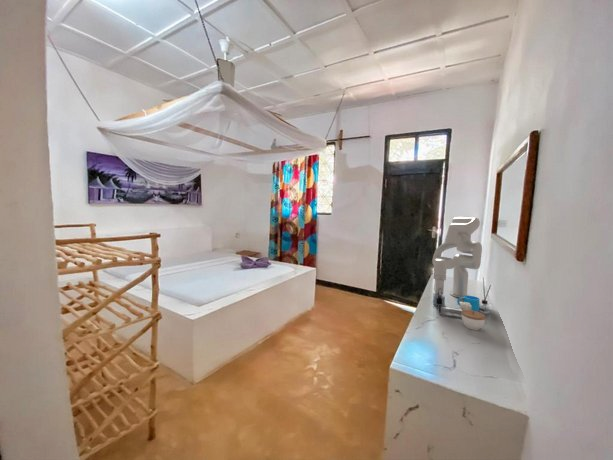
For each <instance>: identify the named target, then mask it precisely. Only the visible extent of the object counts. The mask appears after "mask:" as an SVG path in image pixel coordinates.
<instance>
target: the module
mask: <svg viewBox="0 0 613 460" xmlns="http://www.w3.org/2000/svg"><path fill="white" fill-rule="evenodd" d="M432 293H433V294H432V302H433V306H434V305H435V306H438V305H440V306H443V307H446V306H445V305H446V301H445V300H446V297H445V294H444V293H443V295H442V305H441V304H437V294H435V292H432ZM438 296H439V295H438Z"/></svg>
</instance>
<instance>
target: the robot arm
mask: <svg viewBox="0 0 613 460" xmlns="http://www.w3.org/2000/svg"><path fill="white" fill-rule="evenodd" d="M480 225H481V222H480V219H479V218H478V217H474V216H473V217H469V216H468V217H466V216H465V217H464V216H458V217H457V216H456V217H454V218H452V221H451V223H450V224H449V225H448V228H447V233H446V234H445V235H446V236H445V239H444V242H443V243H442V244H440V245H439V246H438V247H437V248H436V249H435V250H434V253H433V256H432V260H431V262H432V265H433V280H434V286H433V291H434V292H433V293H435V294H437V304H441V305H442V295H443V294H444V286H445V281H446V280H447V270H452V269H453V274H452V275H453V276H452V291H450V292H449V295H451V296H452V297H455V298H458V299H459V298H462V297H464V296H470V294H469V293H468V286H469V285H468V284H469V271H468V269H470V270H479V269H480V267H481V263H482V253H483V245H482V243H481V242H479V241H474V240H471V239H472V234H474V233H475V232H476V231H477V229H479V227H480ZM454 248H456V251H457V252H459V254H458V253H457V254H455V255H453V256H452V257H445V256H441V255H442V254H443V253H444V252H445V251H446V250H449V249H454ZM460 253H463V254H460ZM467 254H468V255H467ZM438 295H439V296H438ZM441 305H440V306H441Z"/></svg>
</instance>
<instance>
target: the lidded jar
mask: <svg viewBox="0 0 613 460" xmlns="http://www.w3.org/2000/svg"><path fill="white" fill-rule="evenodd" d="M461 320H462V323H463V324H464V326H465V327H466V328H467V329H470V330H473V331H479V330H480V329H481V328H483V326H484V325H485V322H486V321H485V320H486V315H485V314H484V313H481V312H480V311H479V312H477V311H472V310H463V311H462V319H461Z"/></svg>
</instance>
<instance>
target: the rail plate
mask: <svg viewBox="0 0 613 460" xmlns="http://www.w3.org/2000/svg"><path fill="white" fill-rule="evenodd" d="M459 304H460V306H459V308H455V307H450V306H449V307H448V306H441V305H436V306H437V307H436V308H437V312H438V314H439V316H442V317H448V318H453V319H455V318H456V319H461V320H462V311H463V310H471V308H472V306H471V305H470V303H467V302H464V301H459Z"/></svg>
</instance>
